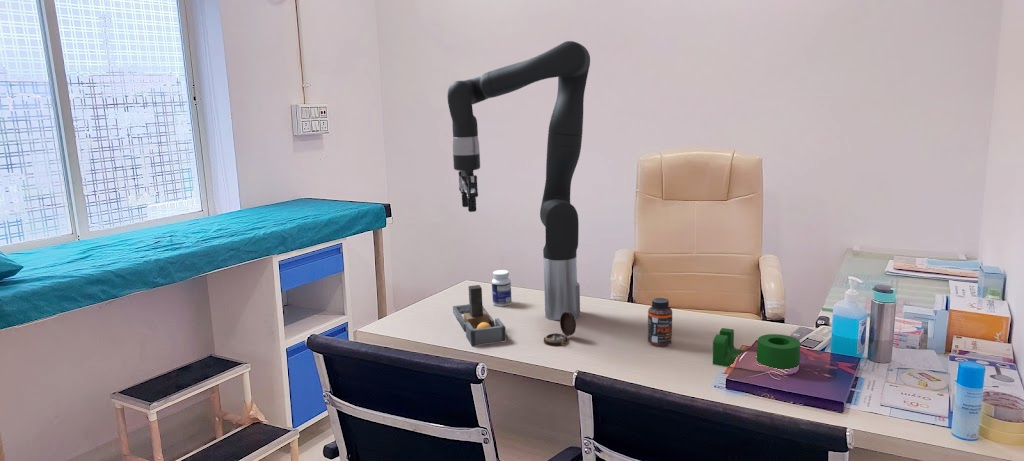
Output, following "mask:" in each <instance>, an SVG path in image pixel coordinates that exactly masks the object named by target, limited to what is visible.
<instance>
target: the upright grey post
mask: <svg viewBox="0 0 1024 461" xmlns="http://www.w3.org/2000/svg"><path fill="white" fill-rule="evenodd" d="M482 290H483V288H482V286H481V285H480V284H476V285H468V299H469V300H468V301H469V302H468V303H469V305H470V312H465V313H463V319H464V320H465V322H470V324H471V326H472V327H473V329H477V326H478V325H479V324H480V323H482V322H486V323H488V324H490V323H489V316H488V314H489V313H488V314H487V313H486V312H485V311H483V307H484V305H483V291H482Z"/></svg>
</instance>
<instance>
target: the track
mask: <svg viewBox="0 0 1024 461" xmlns="http://www.w3.org/2000/svg"><path fill="white" fill-rule="evenodd" d="M483 311H485V312H486V313H487V314H488V316H489V323H490V326H491V327H495V319H493V317H492V316H491V314H490V313H489V312H488V311H487V310H486V307H484V306H483ZM464 312H465V313H470V305H469V304H461V305H460V304H459V305H452V313H453V315H454V317H455V318H456V320H457V322H458V324H459V325H460V326H461V328H462V330H463V331H464V333H466V323H465V320H464V316H463V315H462V314H464Z"/></svg>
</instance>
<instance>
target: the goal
mask: <svg viewBox="0 0 1024 461" xmlns="http://www.w3.org/2000/svg"><path fill="white" fill-rule="evenodd" d="M465 323H466V332H465V337H466V339H467V340H468V342H469V343H470V344H469V345H471V347H474V346H481V345H489V344H496V343H503V342H507V335H506V326H505V324H504V323H503V322H502V321H501V319H500V318H494V327H488V328H480V329H473V327H472V326H471V324H470V322H465Z"/></svg>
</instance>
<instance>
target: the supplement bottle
mask: <svg viewBox="0 0 1024 461" xmlns="http://www.w3.org/2000/svg"><path fill="white" fill-rule="evenodd" d="M669 301H670V300H669V299H667V298H665V297H655V298H652V300H651V303H652V305H651V306H650V307H649V308H648V311H647V343H649V344H650V345H652V346H653V347H667V346H670V345H671V344H672V341H673V310H672V308H671V307H669V305H670V304H669V303H670V302H669Z"/></svg>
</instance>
